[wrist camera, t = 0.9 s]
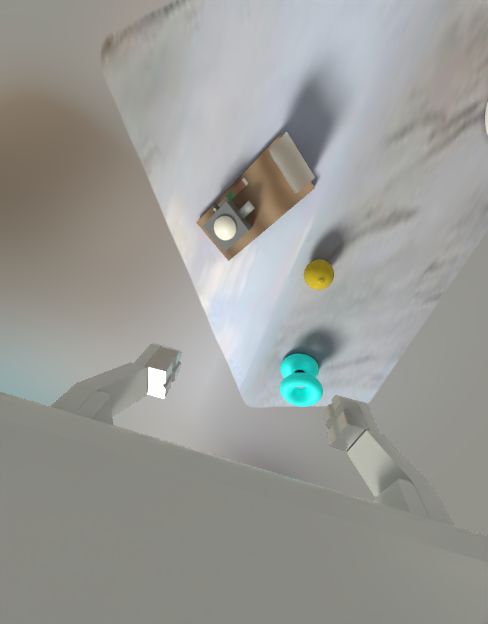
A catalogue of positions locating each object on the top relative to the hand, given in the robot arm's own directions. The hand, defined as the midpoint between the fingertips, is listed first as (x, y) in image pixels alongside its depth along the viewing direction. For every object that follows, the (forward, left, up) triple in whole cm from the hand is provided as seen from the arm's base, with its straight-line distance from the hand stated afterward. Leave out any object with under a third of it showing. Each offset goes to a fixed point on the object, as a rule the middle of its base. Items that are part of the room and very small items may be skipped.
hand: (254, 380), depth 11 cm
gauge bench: (0, -8, -38) cm, 39 cm away
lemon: (-3, +10, -38) cm, 39 cm away
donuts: (+15, +31, -38) cm, 51 cm away
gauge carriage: (+4, -9, -36) cm, 38 cm away
